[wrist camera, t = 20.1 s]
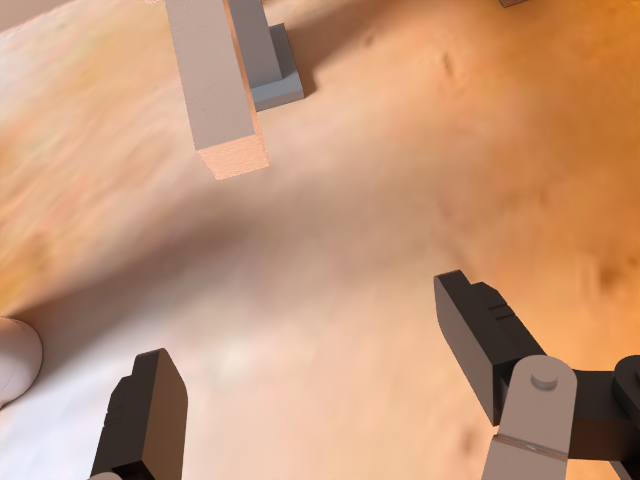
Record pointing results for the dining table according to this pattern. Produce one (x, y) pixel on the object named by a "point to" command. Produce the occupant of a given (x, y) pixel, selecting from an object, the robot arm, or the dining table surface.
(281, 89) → the stand
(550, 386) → the robot arm
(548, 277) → the dining table surface
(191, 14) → the block
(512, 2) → the l-shaped bracket
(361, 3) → the dining table surface
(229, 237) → the dining table surface
